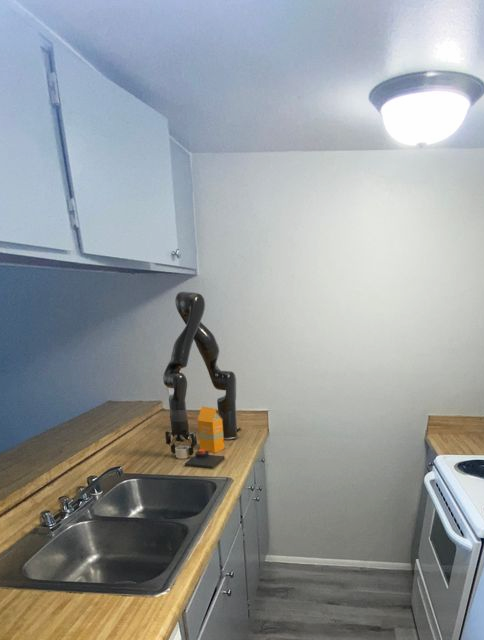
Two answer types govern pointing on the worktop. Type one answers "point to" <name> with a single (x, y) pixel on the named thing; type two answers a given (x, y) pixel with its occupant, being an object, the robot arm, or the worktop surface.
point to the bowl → (182, 452)
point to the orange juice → (210, 430)
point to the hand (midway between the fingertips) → (182, 454)
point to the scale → (204, 460)
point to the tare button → (201, 451)
